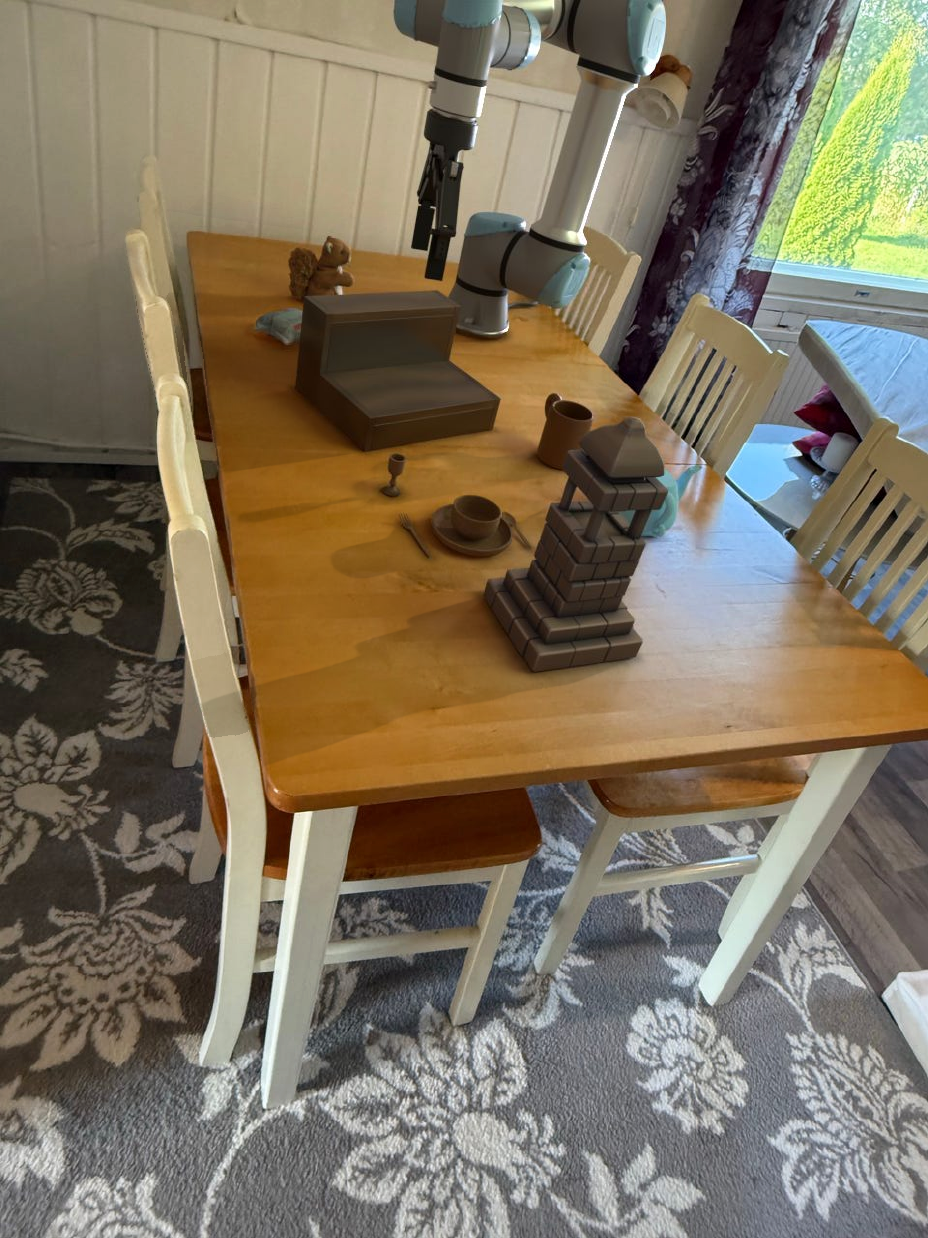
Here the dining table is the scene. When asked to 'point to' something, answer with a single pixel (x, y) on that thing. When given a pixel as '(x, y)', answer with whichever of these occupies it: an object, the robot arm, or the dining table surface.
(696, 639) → the dining table surface
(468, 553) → the place setting
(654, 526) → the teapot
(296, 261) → the stuffed squirrel
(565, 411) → the mug
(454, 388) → the stepped stand
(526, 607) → the miniature tower
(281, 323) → the packaged food
